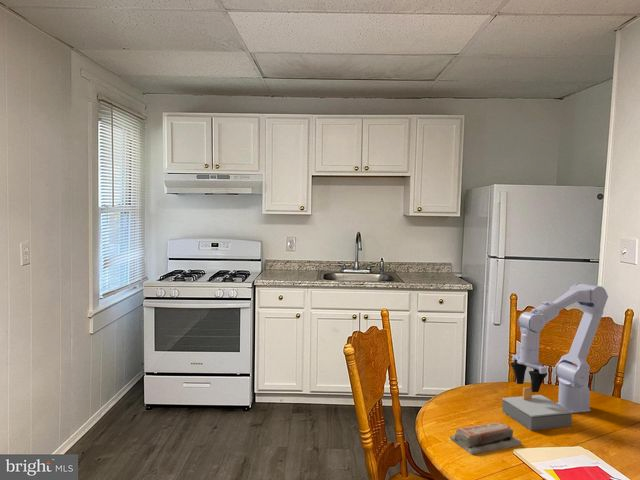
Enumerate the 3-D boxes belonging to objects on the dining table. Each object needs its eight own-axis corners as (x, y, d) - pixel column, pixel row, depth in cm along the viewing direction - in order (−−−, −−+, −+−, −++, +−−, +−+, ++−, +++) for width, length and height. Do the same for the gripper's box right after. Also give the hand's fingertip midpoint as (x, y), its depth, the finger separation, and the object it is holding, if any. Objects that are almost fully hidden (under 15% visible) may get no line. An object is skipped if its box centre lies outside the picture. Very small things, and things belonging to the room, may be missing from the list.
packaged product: (472, 439, 131) (450, 424, 140) (471, 456, 131) (449, 440, 140) (522, 430, 137) (497, 416, 146) (521, 446, 137) (497, 431, 147)
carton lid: (540, 396, 164) (541, 383, 164) (572, 413, 150) (572, 399, 150) (502, 399, 160) (503, 386, 160) (531, 417, 146) (532, 403, 146)
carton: (539, 408, 164) (540, 396, 164) (571, 426, 151) (571, 414, 150) (502, 411, 161) (502, 400, 160) (531, 430, 147) (531, 418, 147)
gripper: (505, 342, 165) (503, 380, 165) (534, 355, 151) (532, 396, 151) (522, 341, 166) (521, 379, 167) (552, 353, 152) (550, 395, 153)
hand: (527, 387), depth 159 cm, fingers open, 7 cm apart
